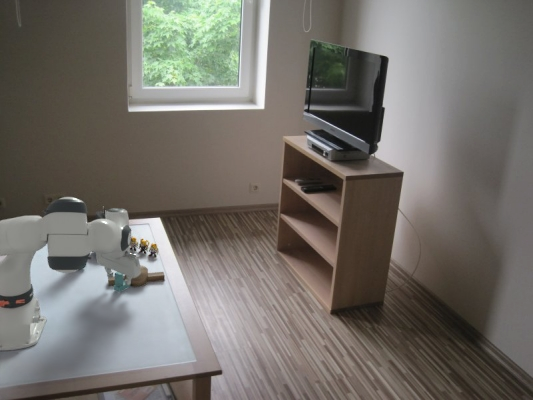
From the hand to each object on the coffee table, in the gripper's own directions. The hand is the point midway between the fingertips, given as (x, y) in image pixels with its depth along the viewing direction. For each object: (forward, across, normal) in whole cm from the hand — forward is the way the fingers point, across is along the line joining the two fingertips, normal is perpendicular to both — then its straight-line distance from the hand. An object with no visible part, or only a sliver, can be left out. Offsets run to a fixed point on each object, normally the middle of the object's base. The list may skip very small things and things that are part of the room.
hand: (119, 280), depth 223 cm
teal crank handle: (+4, 0, -2) cm, 4 cm away
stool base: (+5, +2, -12) cm, 13 cm away
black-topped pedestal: (+5, +41, -35) cm, 54 cm away
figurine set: (+5, +16, -31) cm, 35 cm away
